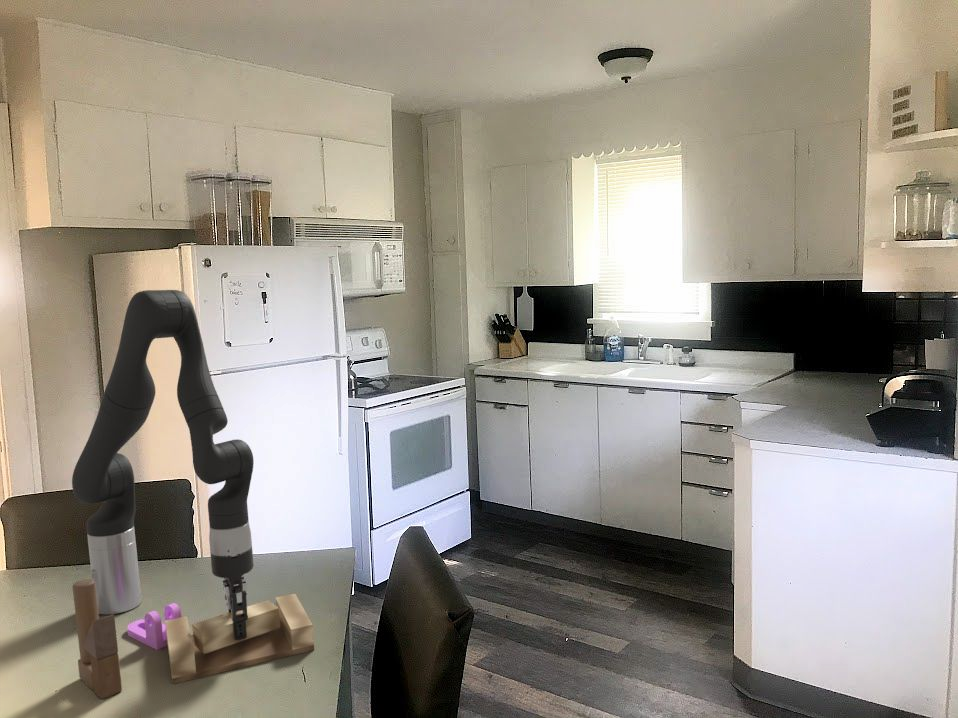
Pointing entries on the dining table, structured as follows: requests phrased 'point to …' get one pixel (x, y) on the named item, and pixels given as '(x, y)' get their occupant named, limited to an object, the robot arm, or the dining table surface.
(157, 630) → the bracket
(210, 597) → the dining table surface
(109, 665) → the wooden block
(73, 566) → the dining table surface
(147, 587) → the dining table surface
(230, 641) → the oak plank
